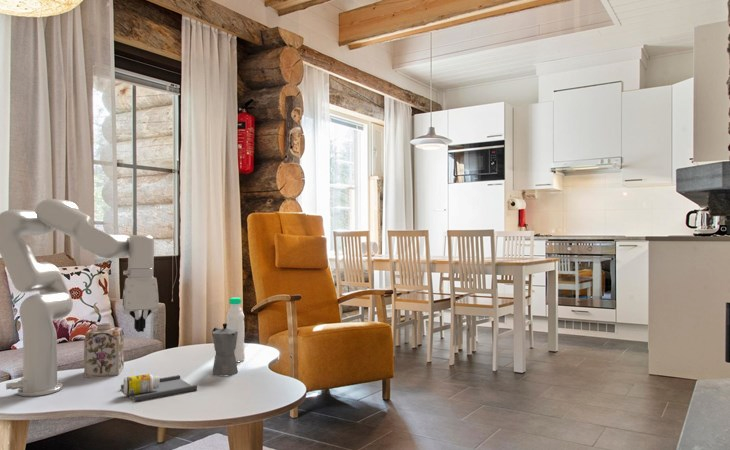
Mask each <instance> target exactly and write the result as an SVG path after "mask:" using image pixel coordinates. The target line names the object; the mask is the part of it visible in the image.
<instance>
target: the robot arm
mask: <svg viewBox="0 0 730 450" xmlns="http://www.w3.org/2000/svg"><path fill="white" fill-rule="evenodd" d="M92 221H93V220H92V218H91V217H90V215H88V214H86V213H84V212H82V211H80V208H79V206H78V205H77V204H76V203H75V202H74V201H72V200H68V199H58V198H57V199H56V198H47V199H44V200H42V201H40V202H39V203H38V204H37V205H36V207H35V210H34V209H33V210H31V209H9V210H8V209H7V210H5V211H2V212H0V256H1V258H2V261H3V263H4V266H5V268H6V271H7V273H8V276H9V278H10V279H11V282H12V284H13V286H14V288H15V289H16V290H17V291H18V292H21V293H33V292H39V293H35V294H32V295H29V296H27V297H26V298H25V299H23V301H22V302H21V303H20V306H19V310H18V311H19V318H20V323H21V327H22V345H23V347H22V350H23V352H22V353H23V356H22V358H23V360H22V362H23V363H22V364H23V365H22V366H23V376H22V377H20V379H21V380H17V381H16V382H8V383H7V382H6V383H5V389H6V391H7V390H17V395H19V396H21V397H38V396H44V395H50V394H54V393H57V392H60V391H62V389H63V383H61V382H58V333H57V329H56V327H55V325H54V321H55V320H59V319H63V318H65V317H67V316H69V315H70V313H71V312H72V309H73V304H74V302H73V299H72V295H71V293H70V290H69V287H68V286H67V284H66V280H65V278H64V276H63V274H62V272H61V270H60V269H59V268H58V267H57V266H56V265H55V264H53V263H51V262H47V261H44V262H43V261H41V262H38V261H37V259H36V257H35V254H34V252H33V250H32V248H31V246H30V245H29V244H28V243H27V242H26V241H25V240H24V239H23V237H22V236H41V235H45V234H49V233H50V232H55V231H59V232H61V233H62V234H65V235H67V236H69V237H70V238H72V239H73V240H74V241H75V243H76V244H77V245H78V246H80V247H81V248H82V249H84V250H85V251H88V252H89V253H92V254H93V255H95V256H98V257H100V258H104V259H114V258H115V259H117V258H127V257H128V258H127V259H128V260H127V264H128V265H127V269H126V270H123V272H122V273H123V276H127V278H125V280H124V285H123V292H122V304H121V305H122V310H121V313H122V314H123V315H130V316H131V318H133V319H134V321H133V322H134V326H133V328H134V330H135V331H136V332H138V333H140V332H145V329H146V319H147V318H148V317H149V316H150V315H151V314H152V313H157V312H158V311H159V309H158V307H159V303H160V301H159V288H158V280H157V277H154V267H155V266H154V263H155V262H154V261H155V260H154V259H155V257H154V255H155V253H154V252H155V238H154V237H153V235H145V234H139V235H138V234H134V235H133V234H126V233H122V234H121V233H107V232H105V231H103V230H101V229H99V228H97V227H95V226H93V225H92V223H93V222H92ZM139 311H141V313H140V312H139Z"/></svg>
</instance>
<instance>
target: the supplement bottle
mask: <svg viewBox="0 0 730 450" xmlns="http://www.w3.org/2000/svg"><path fill="white" fill-rule="evenodd" d="M159 378H160V376H159V375H152V373H151V374H150V373H148V374H142V375H141V374H140V375H132V376H131V375H130V376H126V377H124V378H123V384H124V392H123V394H124V395H125V396H128V395H132V394H140V393H147V392H152V390H153V389H157V388H159Z"/></svg>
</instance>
